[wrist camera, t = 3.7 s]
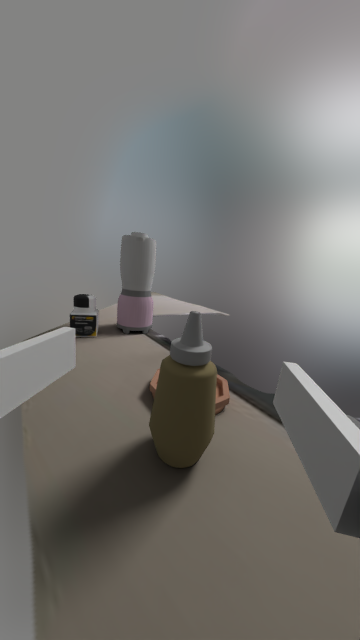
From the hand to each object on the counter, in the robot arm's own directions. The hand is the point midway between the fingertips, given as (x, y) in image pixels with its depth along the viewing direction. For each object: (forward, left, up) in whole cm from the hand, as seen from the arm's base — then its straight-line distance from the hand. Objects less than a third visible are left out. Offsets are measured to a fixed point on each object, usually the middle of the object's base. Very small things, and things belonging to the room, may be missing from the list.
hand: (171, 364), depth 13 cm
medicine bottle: (+34, -45, -17) cm, 59 cm away
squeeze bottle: (-1, -10, -17) cm, 20 cm away
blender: (+23, -58, -17) cm, 65 cm away
